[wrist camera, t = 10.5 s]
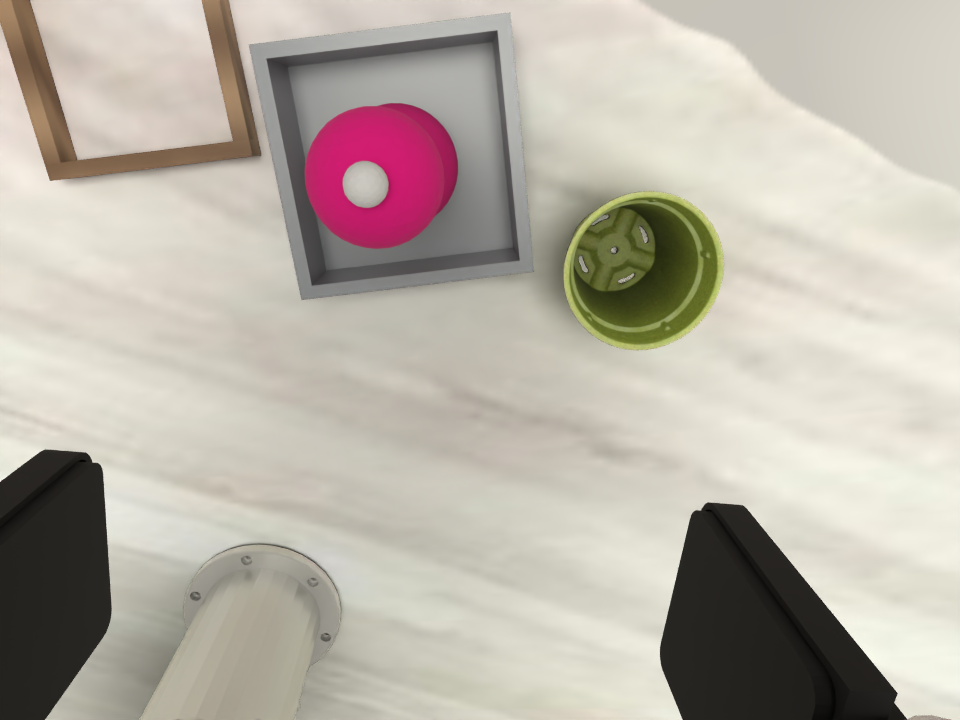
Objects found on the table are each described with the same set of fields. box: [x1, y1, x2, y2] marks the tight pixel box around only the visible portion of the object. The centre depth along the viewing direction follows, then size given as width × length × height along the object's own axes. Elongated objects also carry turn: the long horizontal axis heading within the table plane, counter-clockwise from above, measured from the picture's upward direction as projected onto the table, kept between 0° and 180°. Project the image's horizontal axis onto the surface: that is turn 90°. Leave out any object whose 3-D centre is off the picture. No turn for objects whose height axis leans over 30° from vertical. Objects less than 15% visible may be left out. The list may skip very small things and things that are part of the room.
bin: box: [249, 13, 534, 300], centre depth 42 cm, size 15×15×6 cm
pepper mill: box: [305, 103, 458, 249], centre depth 35 cm, size 7×7×20 cm
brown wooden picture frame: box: [0, 0, 261, 181], centre depth 41 cm, size 13×13×2 cm
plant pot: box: [563, 191, 724, 350], centre depth 43 cm, size 9×9×9 cm
